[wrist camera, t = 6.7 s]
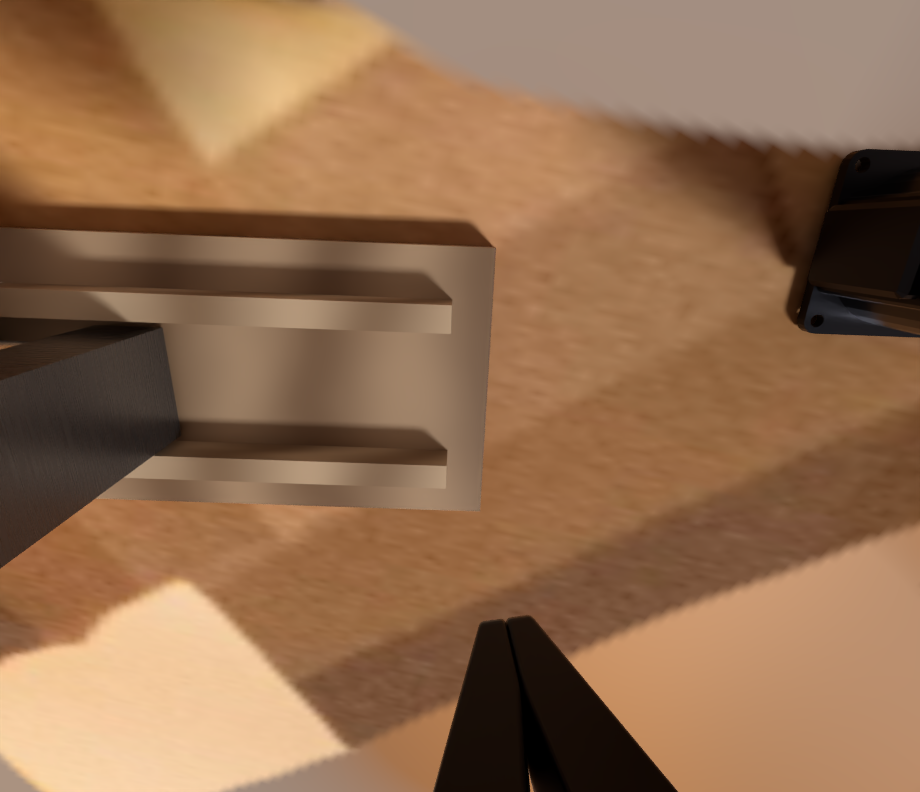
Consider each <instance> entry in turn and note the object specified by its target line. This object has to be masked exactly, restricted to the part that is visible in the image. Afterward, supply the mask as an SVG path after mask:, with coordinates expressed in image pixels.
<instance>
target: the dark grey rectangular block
mask: <svg viewBox="0 0 920 792" xmlns="http://www.w3.org/2000/svg"><path fill="white" fill-rule="evenodd" d="M180 436H181V430H180V424H179V418H178V413H177V407H176V401H175V395H174V390H173V384H172V378H171V373H170V367H169V361H168V355H167V350H166V344H165V338H164V332H163V327H136V326H110V325H93V326H89V327H85V328H81V329H78V330H74V331H70V332H66V333H62V334H58V335H54V336H51V337H47V338H43V339H39V340H35V341H31V342H25V341H0V568H1V567H3V566H4V565H6V564H7V563H8V562H10V561H11V560H12V559H14V558H15V557H16V556H18V555H19V554H21V553H22V552H23V551H25V550H26V549H27V548H29V547H30V546H31V545H33V544H34V543H35V542H37V541H38V540H40V539H41V538H42V537H44V536H45V535H46V534H48V533H49V532H50V531H52V530H53V529H55V528H56V527H57V526H59V525H60V524H61V523H63V522H64V521H65V520H67V519H68V518H69V517H71V516H72V515H74V514H75V513H76V512H78V511H79V510H80V509H82V508H83V507H84V506H86V505H87V504H89V503H90V502H91V501H93V500H94V499H95V498H97V497H98V496H99V495H101V494H102V493H104V492H105V491H106V490H108V489H109V488H110V487H112V486H113V485H114V484H116V483H117V482H118V481H120V480H121V479H123V478H124V477H125V476H127V475H128V474H129V473H131V472H132V471H133V470H135V469H136V468H138V467H139V466H140V465H142V464H143V463H144V462H146V461H147V460H148V459H150V458H151V457H152V456H154V455H155V454H157V453H158V452H159V451H161V450H162V449H163V448H165V447H166V446H167V445H169V444H170V443H172V442H173V441H174V440H176V439H177V438H178V437H180Z"/></svg>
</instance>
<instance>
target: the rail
mask: <svg viewBox="0 0 920 792" xmlns="http://www.w3.org/2000/svg"><path fill="white" fill-rule="evenodd" d="M495 255H496V248H495V247H487V246H463V245H438V244H413V243H388V242H363V241H338V240H314V239H289V238H264V237H239V236H214V235H190V234H165V233H140V232H115V231H90V230H65V229H41V228H16V227H0V282H2V283H0V341H25V342H31V341H35V340H39V339H43V338H47V337H51V336H54V335H58V334H62V333H66V332H70V331H74V330H78V329H81V328H85V327H89V326H93V325H110V326H136V327H163V332H164V338H165V344H166V350H167V355H168V361H169V367H170V373H171V378H172V384H173V390H174V395H175V401H176V407H177V413H178V418H179V424H180V430H181V436H180V437H178V438H177V439H176V440H174V441H173V442H172V443H170V444H169V445H167V446H166V447H165V448H163V449H162V450H161V451H159V452H158V453H157V454H155V455H154V456H152V457H151V458H150V459H148V460H147V461H146V462H144V463H143V464H142V465H140V466H139V467H138V468H136V469H135V470H133V471H132V472H131V473H129V474H128V475H127V476H125V477H124V478H123V479H121V480H120V481H118V482H117V483H116V484H114V485H113V486H112V487H110V488H109V489H108V490H106V491H105V492H104V493H102V494H101V495H99V496H98V497H97V498H96V499H126V500H156V501H186V502H216V503H246V504H275V505H305V506H335V507H365V508H395V509H425V510H455V511H480V501H481V485H482V469H483V452H484V436H485V419H486V403H487V387H488V370H489V354H490V337H491V321H492V305H493V288H494V272H495Z"/></svg>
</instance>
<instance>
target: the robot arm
mask: <svg viewBox="0 0 920 792" xmlns="http://www.w3.org/2000/svg"><path fill="white" fill-rule="evenodd" d="M858 160H860V161H861V168H860V170H859V171H858V172H857V171H856V169H855V166H856V163H857V161H858ZM815 315H816V316H817V317H816V321H815V323H813V324H812V325H811V319H812V317H813V316H815ZM797 324H798V327H799V328H800V329H801V330H803V331H806V332H810V333H815V334H841V335H867V336H893V337H920V151H900V150H877V149H865V150H860V151H855V152H852V153H850V154H848V155H847V156H846V157H845V158H844V159H843V161H842V163H841V165H840V168H839V172H838V175H837V179H836V182H835V186H834V190H833V193H832V197H831V200H830V204H829V207H828V211H827V212H826V215H825V218H824V222H823V225H822V229H821V233H820V236H819V240H818V243H817V247H816V251H815V254H814V258H813V261H812V265H811V269H810V272H809V276H808V283H807V286H806V290H805V294H804V297H803V301H802V304H801V308H800V312H799V315H798V319H797ZM528 769H529V771H528ZM529 774H530V778H531V783H532V786H533V790H534V792H678V791H677V790H676V789H675V788H674V786H673V785H672V784H671V783H670V782H669V780H668V779H667V778H666V777H665V776H664V774H663V773H662V772H661V771H660V770H659V768H658V767H657V766H656V765H655V764H654V762H653V761H652V760H651V759H650V758H649V756H648V755H647V754H646V753H645V752H644V751H643V749H642V748H641V747H640V746H639V744H638V743H637V742H636V741H635V740H634V738H633V737H632V736H631V735H630V734H629V732H628V731H627V730H626V729H625V728H624V726H623V725H622V724H621V723H620V722H619V720H618V719H617V718H616V717H615V716H614V714H613V713H612V712H611V711H610V710H609V708H608V707H607V706H606V705H605V704H604V702H603V701H602V700H601V699H600V698H599V696H598V695H597V694H596V693H595V692H594V690H593V689H592V688H591V687H590V686H589V685H588V683H587V682H586V681H585V680H584V678H583V677H582V676H581V675H580V674H579V672H578V671H577V670H576V669H575V668H574V666H573V665H572V664H571V663H570V661H569V660H568V659H567V658H566V657H565V655H564V654H563V653H562V652H561V651H560V649H559V648H558V647H557V646H556V645H555V643H554V642H553V641H552V640H551V639H550V637H549V636H548V635H547V634H546V633H545V631H544V630H543V629H542V628H541V627H540V625H539V624H538V623H537V622H536V621H535V620H534V618H533V617H531V616H529V615H524V616H517V617H510V618H508V619H507V621H506V622H505V621H504V620H503V619H497V620H490V621H483V622H481V623H480V625H479V627H478V631H477V634H476V638H475V641H474V645H473V649H472V652H471V656H470V660H469V663H468V667H467V670H466V674H465V678H464V681H463V685H462V689H461V692H460V696H459V700H458V703H457V707H456V711H455V714H454V718H453V721H452V725H451V729H450V732H449V736H448V740H447V743H446V747H445V750H444V754H443V758H442V761H441V765H440V769H439V772H438V776H437V779H436V783H435V787H434V790H433V792H530V785H529V784H530V783H529Z"/></svg>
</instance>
